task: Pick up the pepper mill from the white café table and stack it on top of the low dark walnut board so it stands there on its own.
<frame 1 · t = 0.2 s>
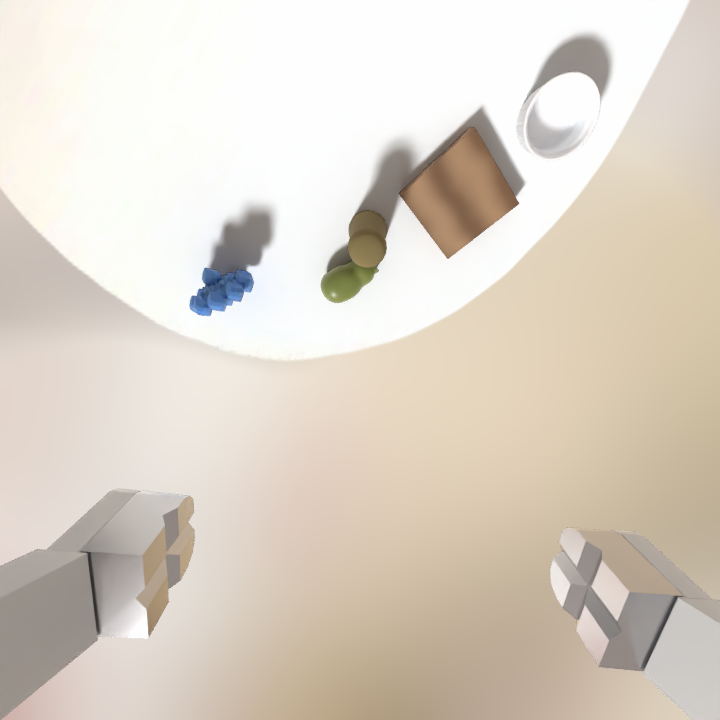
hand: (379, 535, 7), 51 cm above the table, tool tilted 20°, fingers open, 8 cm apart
pepper mill: (367, 230, 53), on the table
grapes: (232, 273, 58), on the table
ramekin: (545, 119, 45), on the table
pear: (350, 273, 57), on the table
walnut block: (456, 196, 50), on the table
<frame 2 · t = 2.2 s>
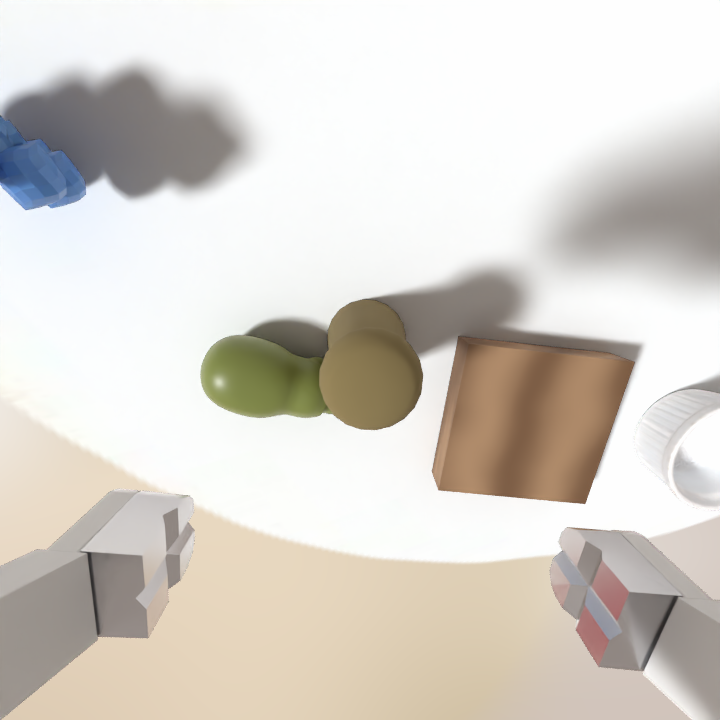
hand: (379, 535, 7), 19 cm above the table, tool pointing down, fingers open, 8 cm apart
pepper mill: (366, 338, 26), on the table
grapes: (57, 157, 23), on the table
ramekin: (676, 430, 29), on the table
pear: (283, 370, 27), on the table
walnut block: (516, 415, 28), on the table
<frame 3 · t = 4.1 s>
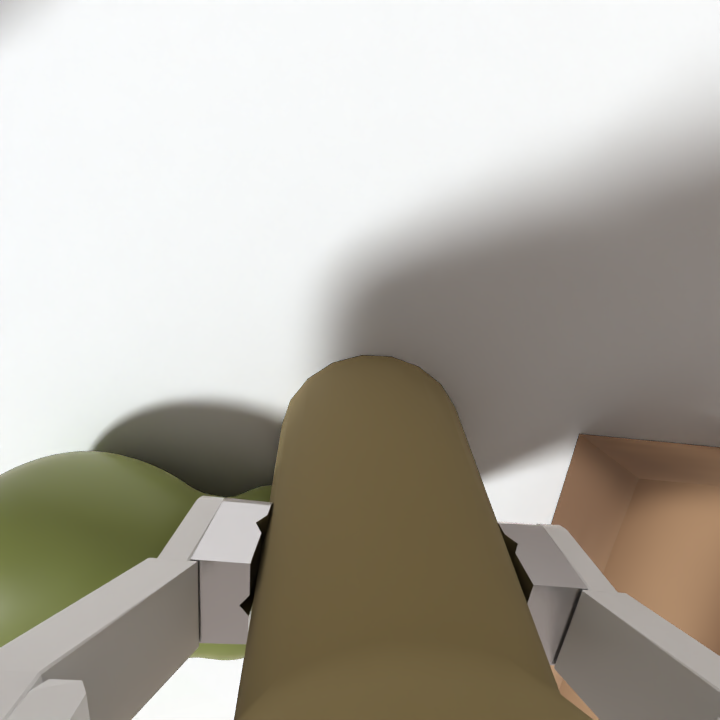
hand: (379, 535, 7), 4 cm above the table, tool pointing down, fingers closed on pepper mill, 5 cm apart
pepper mill: (370, 438, 12), on the table, touching gripper
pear: (199, 505, 12), on the table
walnut block: (683, 585, 13), on the table
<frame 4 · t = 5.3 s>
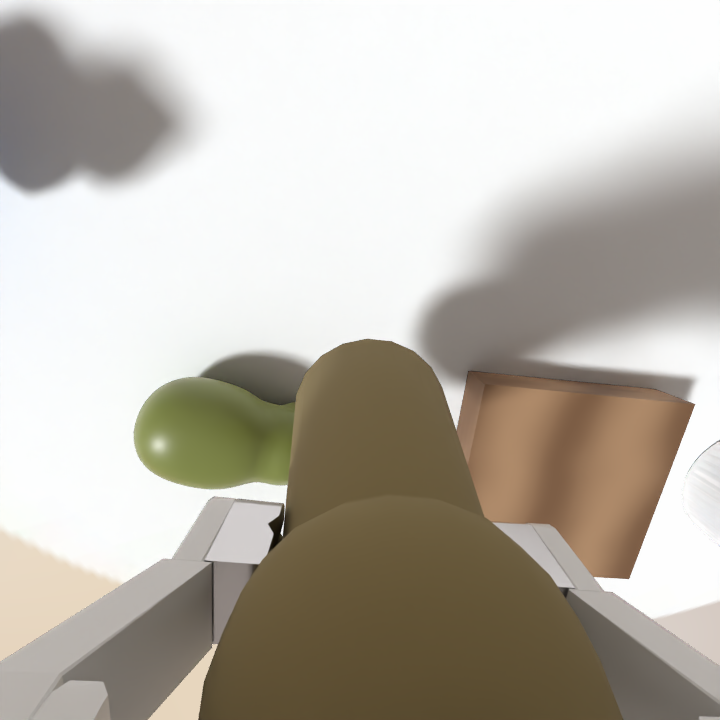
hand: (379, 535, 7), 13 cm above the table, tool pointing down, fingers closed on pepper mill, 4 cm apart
pepper mill: (369, 410, 14), point 6 cm above the table, touching gripper
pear: (253, 418, 21), on the table
walnut block: (540, 466, 22), on the table
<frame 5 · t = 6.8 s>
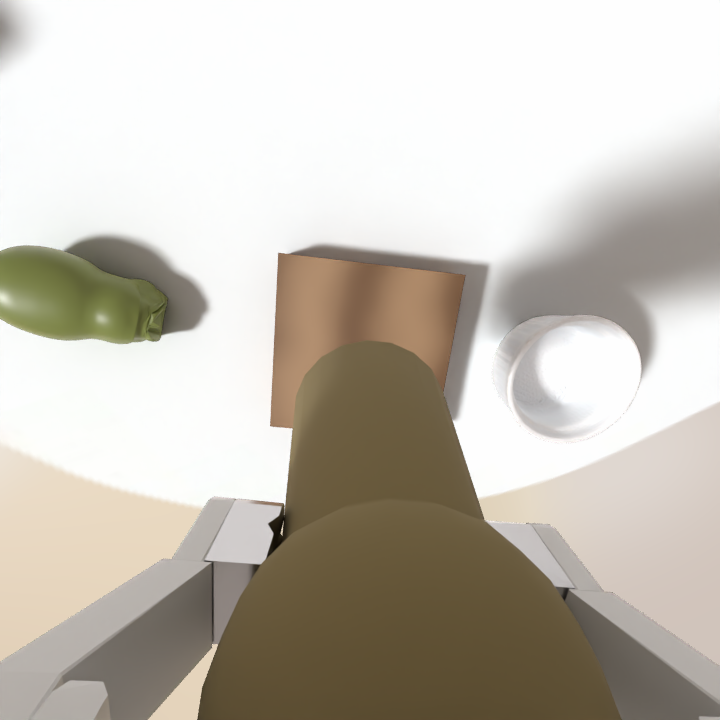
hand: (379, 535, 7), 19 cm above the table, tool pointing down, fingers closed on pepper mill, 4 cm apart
pepper mill: (369, 411, 14), point 12 cm above the table, touching gripper
ramekin: (538, 364, 27), on the table
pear: (111, 298, 25), on the table
walnut block: (361, 346, 26), on the table
when the fingers open (10 cm above the table, at t = 8.5 s): pepper mill stays where it is, resting on walnut block.
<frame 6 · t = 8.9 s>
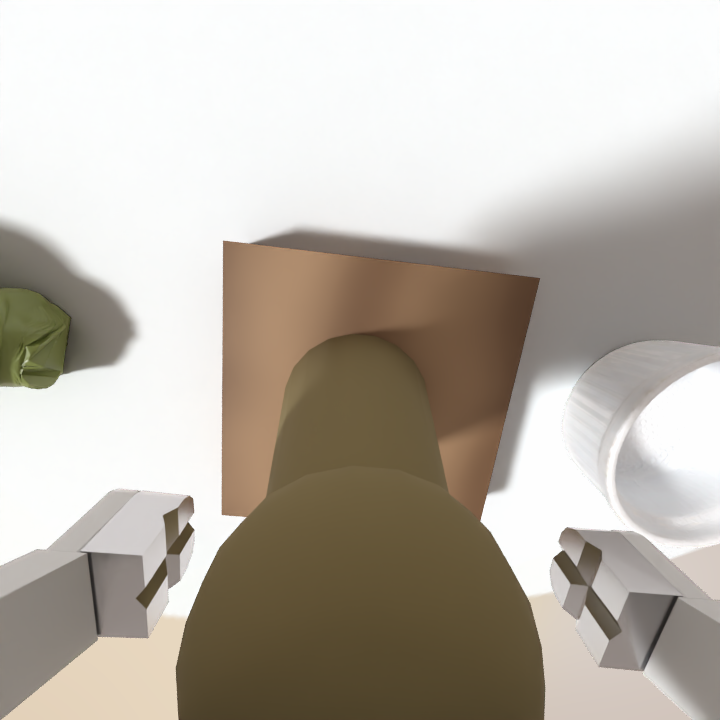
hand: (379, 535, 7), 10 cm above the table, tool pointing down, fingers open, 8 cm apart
pepper mill: (356, 402, 14), point 2 cm above the table, touching walnut block
ramekin: (630, 411, 18), on the table
walnut block: (364, 386, 17), on the table
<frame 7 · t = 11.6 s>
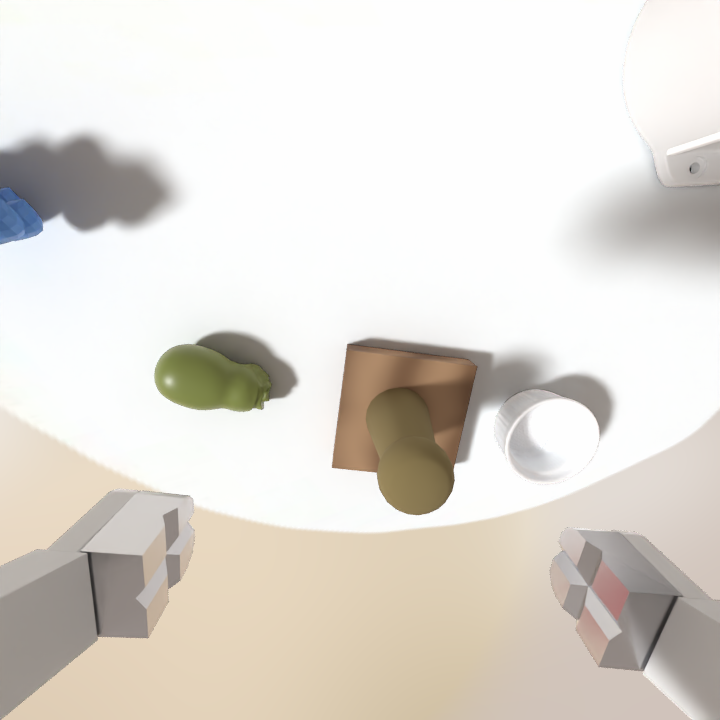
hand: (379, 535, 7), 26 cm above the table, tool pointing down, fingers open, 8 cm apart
pepper mill: (397, 416, 32), point 2 cm above the table, touching walnut block
grapes: (23, 198, 29), on the table
ramekin: (528, 422, 36), on the table
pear: (226, 373, 34), on the table
walnut block: (398, 408, 35), on the table
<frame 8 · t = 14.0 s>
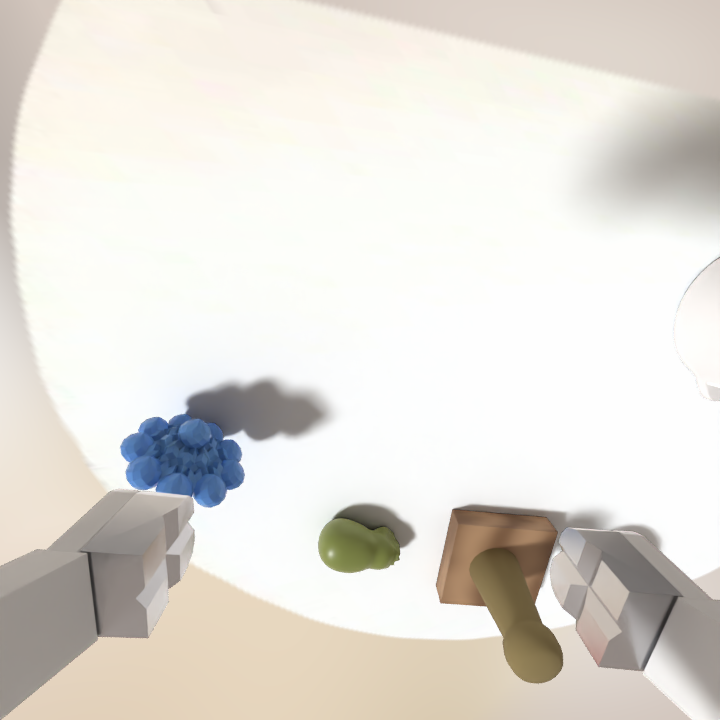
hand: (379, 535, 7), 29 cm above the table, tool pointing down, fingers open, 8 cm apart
pepper mill: (493, 566, 42), point 2 cm above the table, touching walnut block
grapes: (215, 420, 38), on the table
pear: (359, 530, 43), on the table
walnut block: (489, 552, 44), on the table
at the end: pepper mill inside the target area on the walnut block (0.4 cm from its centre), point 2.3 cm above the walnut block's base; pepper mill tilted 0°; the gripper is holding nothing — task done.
